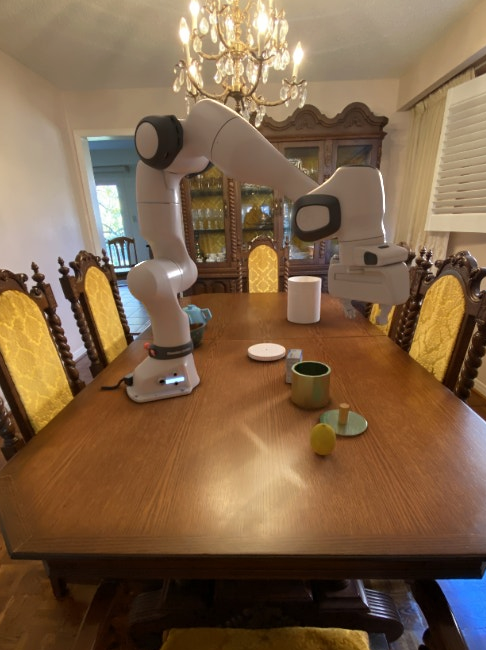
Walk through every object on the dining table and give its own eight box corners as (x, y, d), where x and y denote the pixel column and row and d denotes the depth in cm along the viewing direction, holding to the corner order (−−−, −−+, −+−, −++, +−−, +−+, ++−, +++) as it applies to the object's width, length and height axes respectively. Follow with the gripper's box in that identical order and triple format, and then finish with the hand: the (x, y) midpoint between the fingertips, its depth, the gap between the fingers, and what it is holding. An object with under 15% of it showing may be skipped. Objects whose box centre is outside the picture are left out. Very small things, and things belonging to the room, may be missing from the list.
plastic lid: (265, 366, 121) (265, 359, 120) (240, 355, 131) (240, 349, 130) (293, 355, 129) (293, 349, 128) (267, 346, 139) (267, 340, 138)
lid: (342, 444, 79) (344, 423, 77) (310, 421, 88) (310, 402, 86) (376, 429, 84) (379, 409, 82) (343, 408, 94) (344, 390, 92)
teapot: (187, 334, 156) (185, 311, 152) (169, 327, 166) (167, 305, 162) (214, 326, 166) (212, 304, 162) (195, 320, 176) (193, 300, 172)
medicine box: (300, 384, 108) (300, 358, 105) (285, 383, 109) (286, 357, 105) (301, 373, 115) (302, 349, 112) (288, 372, 116) (288, 348, 113)
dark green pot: (157, 344, 145) (154, 320, 142) (205, 340, 148) (203, 317, 144) (154, 355, 133) (150, 330, 130) (206, 351, 136) (204, 326, 132)
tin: (307, 414, 92) (308, 380, 88) (284, 398, 100) (284, 366, 96) (336, 403, 96) (338, 370, 93) (312, 388, 105) (313, 358, 101)
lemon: (329, 466, 72) (331, 434, 69) (305, 457, 75) (306, 426, 72) (338, 451, 77) (340, 421, 74) (315, 444, 80) (316, 414, 77)
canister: (286, 323, 168) (286, 281, 161) (288, 314, 183) (289, 276, 176) (319, 323, 166) (321, 282, 159) (319, 314, 181) (321, 276, 173)
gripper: (318, 256, 77) (323, 317, 81) (388, 256, 59) (390, 333, 63) (341, 252, 79) (345, 311, 83) (415, 250, 61) (415, 325, 65)
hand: (365, 321), depth 73 cm, fingers open, 8 cm apart
